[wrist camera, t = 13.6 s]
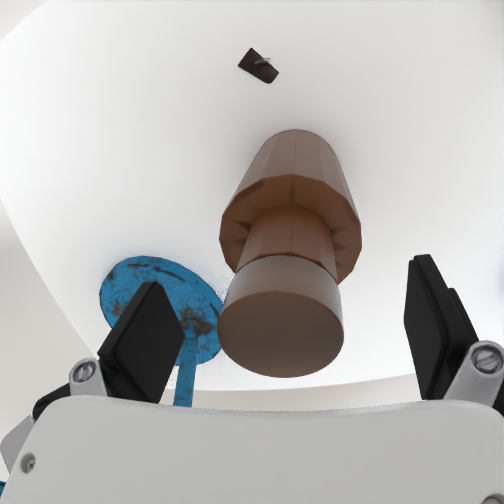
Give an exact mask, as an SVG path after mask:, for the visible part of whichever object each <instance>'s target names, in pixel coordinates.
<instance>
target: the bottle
mask: <svg viewBox="0 0 504 504" xmlns="http://www.w3.org/2000/svg"><path fill="white" fill-rule="evenodd" d="M219 241H220V245H221V248H222V251H223V255H224V258H225V261H226V263H227V265H228V266H229V267H230V268H231V269H232V271H233V272H234V273H235V275H236V274H237V273H238V272H239V271H240V270H241V269H242V268H243V267H244V266H246V265H247V264H249V263H251V262H252V261H255V260H257V259H260V258H263V257H267V256H273V255H291V256H297V257H301V258H304V259H307V260H310V261H312V262H314V263H316V264H318V265H319V266H321V267H322V268H323V269H325V270H326V271H327V272H328V273H329V274H330V275H331V276H332V278H333V279H334V280H335V282H336V284H337V286H338V285H339V284H340V283H341V282H342V281H343V280H344V279H345V278H346V277H347V276H348V275H349V274H350V273H351V272H352V270H353V269H354V266H355V264H356V261H357V259H358V257H359V254H360V252H361V249H362V239H361V223H360V220H359V217H358V214H357V211H356V208H355V205H354V202H353V200H352V197H351V194H350V191H349V188H348V186H347V183H346V180H345V177H344V175H343V172H342V169H341V167H340V164H339V162H338V159H337V157H336V155H335V154H334V152H333V150H332V148H331V147H330V145H329V144H328V143H327V142H326V141H325V140H323V139H322V138H321V137H319V136H318V135H316V134H314V133H311V132H308V131H304V130H287V131H283V132H280V133H278V134H276V135H274V136H273V137H271V138H270V139H269V140H267V141H266V142H265V143H264V145H263V146H262V147H261V149H260V150H259V152H258V153H257V155H256V157H255V158H254V160H253V162H252V163H251V165H250V167H249V169H248V170H247V172H246V174H245V176H244V177H243V179H242V181H241V183H240V184H239V186H238V188H237V190H236V192H235V193H234V195H233V197H232V199H231V201H230V202H229V204H228V206H227V208H226V210H225V211H224V213H223V215H222V221H221V228H220V235H219Z"/></svg>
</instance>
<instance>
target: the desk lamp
mask: <svg viewBox="0 0 504 504" xmlns="http://www.w3.org/2000/svg"><path fill="white" fill-rule="evenodd" d="M148 281H157V282H158V283H159V284H161V285H162V286H163V288H164V290H165V292H166V294H167V296H168V298H169V301H170V303H171V305H172V307H173V309H174V311H175V313H176V316H177V318H178V320H179V322H180V324H181V326H182V328H183V330H184V332H185V340H184V343H183V345H182V347H181V350H180V352H179V355H178V357H177V360H176V362H175V364H174V365H176V366H179V371H178V377H177V383H176V390H175V396H174V403H173V406H180V407H190V408H191V406H192V397H193V388H194V379H195V371H196V365H198V364H203V363H205V362H207V361H209V360H211V359H212V358H214V357H215V356H216V354H217V353H218V352H219V351H220V350H221V345H220V343H219V341H218V338H217V322H218V319H219V316H220V313H221V310H222V307H223V304H222V302H221V300H220V299H219V297H218V296H217V295H216V293H215V292H214V291H213V289H212V288H211V287H210V286H209V285H208V284H207V283H205V282H204V281H203V280H202V279H201V278H200V277H199V276H197V275H196V274H195V273H193V272H191V271H189V270H188V269H186V268H184V267H183V266H181V265H179V264H176V263H173V262H171V261H168V260H165V259H162V258H156V257H147V256H140V257H134V258H128V259H126V260H124V261H122V262H120V263H118V264H116V265H115V267H114V268H113V269H112V270H111V272H110V273H109V274H108V275H107V277H106V278H105V280H104V281H103V282H102V286H101V289H100V293H99V296H100V306H101V309H102V312H103V314H104V317H105V319H106V321H107V322H108V324H109V325H110V327H111V328H113V327H114V325H115V323H116V322H117V320H118V319H119V317H120V316H121V314H122V312H123V311H124V309H125V308H126V306H127V305H128V303H129V302H130V300H131V299H132V297H133V296H134V294H135V293H136V291H137V290H138V288H139V287H140V285H141V284H142V283H143V282H148ZM5 484H6V482H2V481H0V498H1V495H2V492H3V490H4V487H5Z"/></svg>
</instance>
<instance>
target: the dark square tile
mask: <svg viewBox="0 0 504 504" xmlns="http://www.w3.org/2000/svg"><path fill="white" fill-rule="evenodd" d="M269 59H270V58H263V57H261V55H259V54H258V53H257V52H256V51H255V50H253V48H250V49H249V51H248V52H247V53H246V55H245V56H244V58H243V59H242V60H241V62H240V63H239V64H238V66H239V67H240V68H242V69H244V70H245V71H247V72H249V73H250V74H252V75H254V76H255V77H257V78H259V79H260V80H262V81H263V82H265V83H272V81H273V80H274V79H275V77H276V76H277V75H278V73H279V72H278V71H277V70H276V69H275V68H274V67H273V66H272V65H270V64H269V63H268V62H267V61H269Z"/></svg>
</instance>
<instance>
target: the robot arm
mask: <svg viewBox="0 0 504 504" xmlns="http://www.w3.org/2000/svg"><path fill="white" fill-rule="evenodd" d="M404 326H405V330H406V334H407V338H408V341H409V345H410V349H411V353H412V358H413V362H414V366H415V370H416V375H417V380H418V384H419V389H420V394H421V398H422V400H426V401H418V402H409V403H399V404H392V405H383V406H373V407H361V408H350V409H337V410H319V411H279V412H278V411H274V412H273V411H233V410H216V409H201V408H190V407H180V406H171V405H162V404H158V403H159V401H160V399H161V397H162V394H163V392H164V389H165V387H166V384H167V382H168V379H169V377H170V374H171V372H172V369H173V367H174V364H175V362H176V360H177V357H178V355H179V352H180V350H181V347H182V345H183V343H184V340H185V332H184V330H183V328H182V326H181V324H180V322H179V320H178V318H177V316H176V313H175V311H174V309H173V307H172V305H171V303H170V301H169V298H168V296H167V294H166V292H165V290H164V288H163V286H162V285H161V284H159V283H158V282H157V281H148V282H143V283H142V284H141V285H140V287H139V288H138V290H137V291H136V293H135V294H134V296H133V297H132V299H131V300H130V302H129V303H128V305H127V306H126V308H125V309H124V311H123V312H122V314H121V316H120V317H119V319H118V320H117V322H116V323H115V325H114V327H113V328H112V330H111V331H110V333H109V334H108V336H107V338H106V339H105V341H104V343H103V344H102V346H101V347H100V349H99V351H98V352H97V354H98V356H99V357H100V359H99V360H98V361H97V360H96V359H95V358H85V359H83V360H81V361H79V362H78V363H77V364H76V365H74V367H73V368H72V369H71V371H70V374H69V383H67V384H66V385H64V386H62V387H60V388H58V389H56V390H55V391H53V392H51V393H49V394H47V395H46V396H44V397H42V398H41V399H39V400H38V401H37V402H36V404H35V406H34V408H33V417H31V416H30V415H29V416H28V417H27V418H26V419H24V420H23V421H22V422H21V423H20V424H19V425H18V426H16V428H14V429H13V430H12V431H11V432H10V433H9V434H8V435H6V437H5V438H4V439H3V440H2V442H1V446H0V449H1V453H2V456H3V459H4V461H5V464H6V466H7V469H8V471H9V474H10V475H9V477H8V480H7V482H6V484H5V487H4V490H3V492H2V495H1V498H0V504H504V349H503V348H502V347H501V346H500V345H499V344H497V343H495V342H492V341H488V340H487V341H479V339H478V337H477V335H476V332H475V330H474V328H473V326H472V323H471V321H470V319H469V317H468V315H467V313H466V310H465V308H464V306H463V304H462V302H461V300H460V298H459V296H458V294H457V292H456V291H455V289H454V288H448V287H447V285H446V283H445V281H444V280H443V278H442V276H441V274H440V272H439V270H438V268H437V266H436V264H435V262H434V261H433V259H432V257H431V255H430V254H424V255H416V256H414V259H413V260H410V261H409V268H408V281H407V292H406V302H405V311H404ZM484 499H485V500H484ZM483 500H484V501H483Z"/></svg>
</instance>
